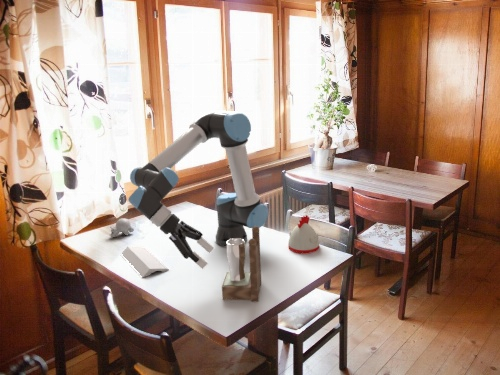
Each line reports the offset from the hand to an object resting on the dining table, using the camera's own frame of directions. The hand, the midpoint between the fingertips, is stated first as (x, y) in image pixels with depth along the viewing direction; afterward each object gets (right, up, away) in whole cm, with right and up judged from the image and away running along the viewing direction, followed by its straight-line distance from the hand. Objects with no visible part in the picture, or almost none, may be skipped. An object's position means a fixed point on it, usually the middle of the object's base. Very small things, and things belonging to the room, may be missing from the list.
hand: (208, 258), depth 176 cm
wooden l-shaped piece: (+13, -13, +2) cm, 18 cm away
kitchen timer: (+40, -1, +40) cm, 56 cm away
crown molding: (-31, -7, +32) cm, 45 cm away
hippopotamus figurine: (-50, +2, +64) cm, 81 cm away
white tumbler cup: (+11, -8, +2) cm, 14 cm away
